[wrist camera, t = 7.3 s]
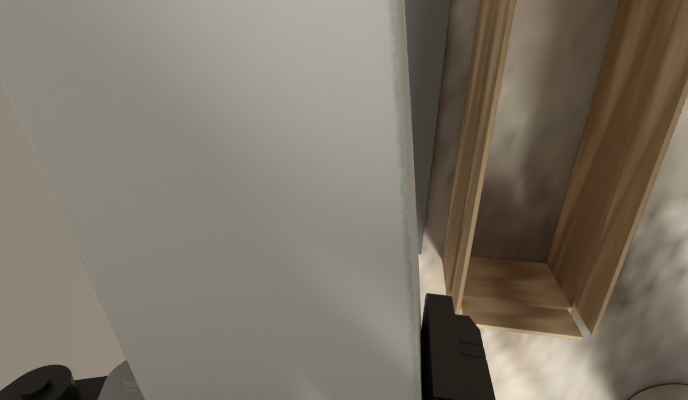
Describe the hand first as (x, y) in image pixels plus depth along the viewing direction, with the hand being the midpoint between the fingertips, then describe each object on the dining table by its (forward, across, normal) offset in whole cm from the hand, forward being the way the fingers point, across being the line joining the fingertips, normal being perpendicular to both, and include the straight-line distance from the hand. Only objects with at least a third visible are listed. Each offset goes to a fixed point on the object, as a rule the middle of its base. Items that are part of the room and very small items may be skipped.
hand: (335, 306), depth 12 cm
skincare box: (+11, 0, 0) cm, 11 cm away
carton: (+24, -12, 0) cm, 27 cm away
